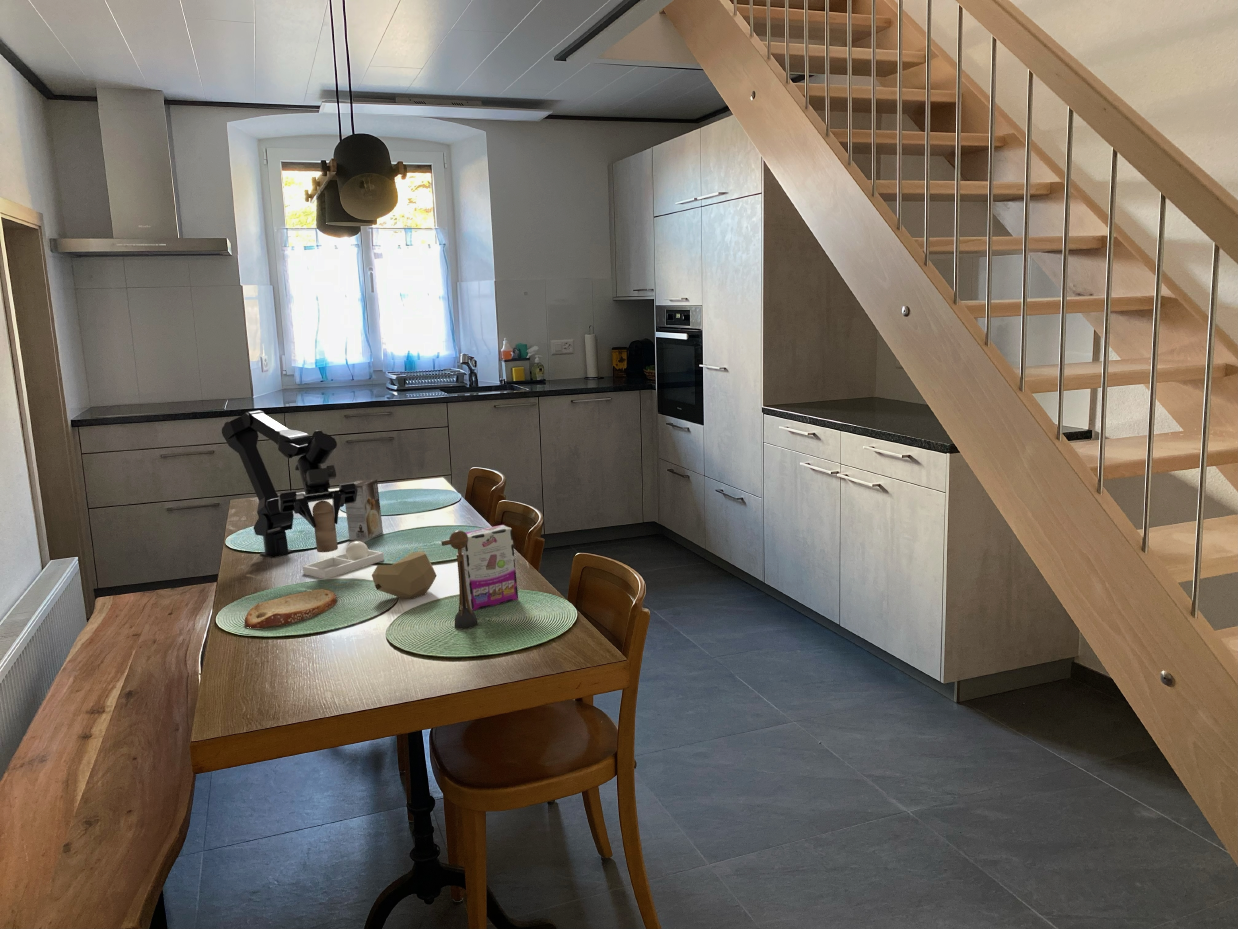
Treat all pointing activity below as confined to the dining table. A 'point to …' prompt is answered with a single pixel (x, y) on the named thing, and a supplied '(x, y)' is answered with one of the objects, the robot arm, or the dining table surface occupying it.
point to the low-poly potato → (406, 576)
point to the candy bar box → (490, 567)
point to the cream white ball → (356, 551)
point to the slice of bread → (290, 609)
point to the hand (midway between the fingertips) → (325, 525)
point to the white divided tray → (340, 565)
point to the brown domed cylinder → (325, 527)
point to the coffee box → (364, 511)
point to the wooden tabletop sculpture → (462, 582)
